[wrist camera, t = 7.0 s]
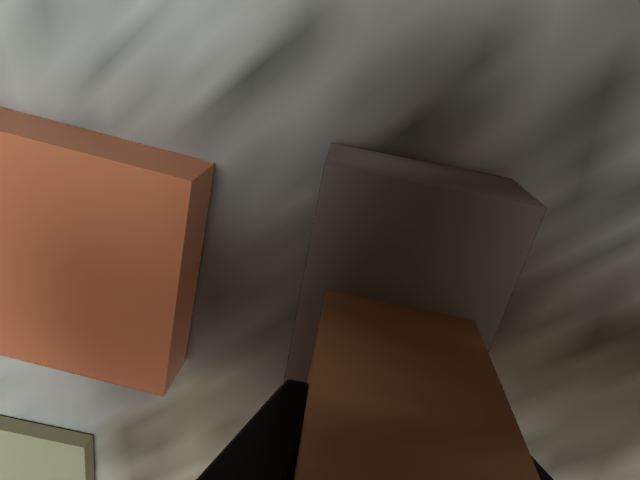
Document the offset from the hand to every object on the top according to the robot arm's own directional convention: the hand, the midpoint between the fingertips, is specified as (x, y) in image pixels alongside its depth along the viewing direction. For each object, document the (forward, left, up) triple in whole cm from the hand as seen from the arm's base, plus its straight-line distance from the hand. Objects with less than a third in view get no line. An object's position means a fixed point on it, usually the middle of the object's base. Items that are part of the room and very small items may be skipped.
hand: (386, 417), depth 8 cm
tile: (+8, 0, -4) cm, 9 cm away
